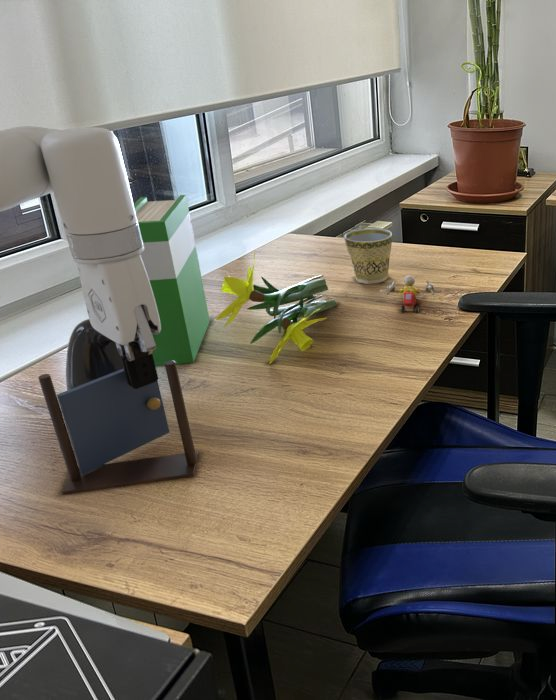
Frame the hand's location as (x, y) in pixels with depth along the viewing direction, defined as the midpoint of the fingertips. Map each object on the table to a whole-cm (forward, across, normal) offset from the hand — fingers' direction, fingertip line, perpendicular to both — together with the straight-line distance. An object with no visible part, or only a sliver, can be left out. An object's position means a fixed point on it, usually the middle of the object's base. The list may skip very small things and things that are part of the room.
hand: (143, 383), depth 88 cm
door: (+9, -1, -3) cm, 10 cm away
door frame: (+10, +2, -5) cm, 12 cm away
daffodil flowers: (+11, -18, +33) cm, 39 cm away
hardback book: (+10, -30, +18) cm, 37 cm away
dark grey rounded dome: (+10, -14, 0) cm, 17 cm away
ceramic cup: (+11, -30, +63) cm, 71 cm away
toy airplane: (+11, -12, +57) cm, 59 cm away
